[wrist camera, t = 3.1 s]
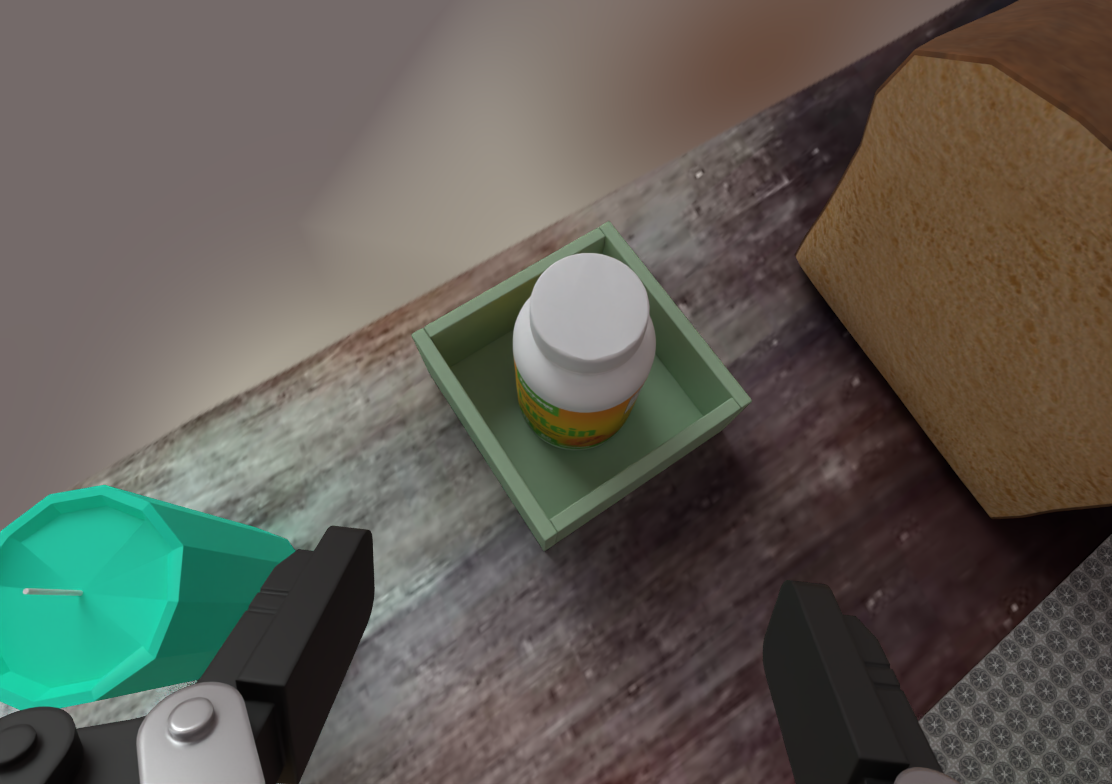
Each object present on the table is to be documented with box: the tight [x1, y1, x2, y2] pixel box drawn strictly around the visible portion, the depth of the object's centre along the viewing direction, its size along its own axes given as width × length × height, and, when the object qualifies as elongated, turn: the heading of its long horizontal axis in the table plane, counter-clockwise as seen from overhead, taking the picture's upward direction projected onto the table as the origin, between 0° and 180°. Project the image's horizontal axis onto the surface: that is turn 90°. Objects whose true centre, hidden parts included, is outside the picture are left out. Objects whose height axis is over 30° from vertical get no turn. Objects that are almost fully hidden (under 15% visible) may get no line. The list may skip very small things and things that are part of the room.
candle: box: [0, 485, 295, 710], centre depth 22 cm, size 6×6×12 cm
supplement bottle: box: [513, 253, 656, 450], centre depth 25 cm, size 5×5×10 cm
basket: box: [412, 221, 752, 551], centre depth 28 cm, size 10×10×4 cm
